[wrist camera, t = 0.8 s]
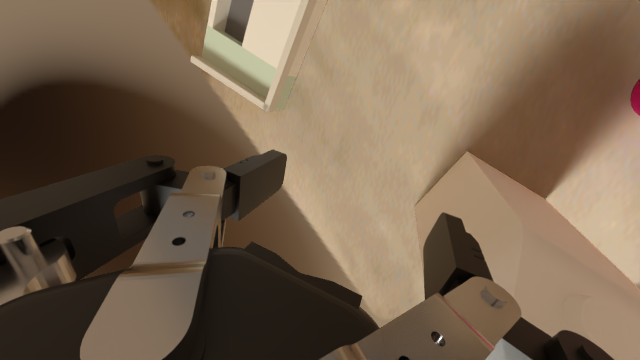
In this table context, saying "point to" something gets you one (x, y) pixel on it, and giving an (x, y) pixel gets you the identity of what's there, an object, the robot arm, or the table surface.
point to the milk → (537, 257)
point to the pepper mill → (636, 98)
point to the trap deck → (259, 46)
